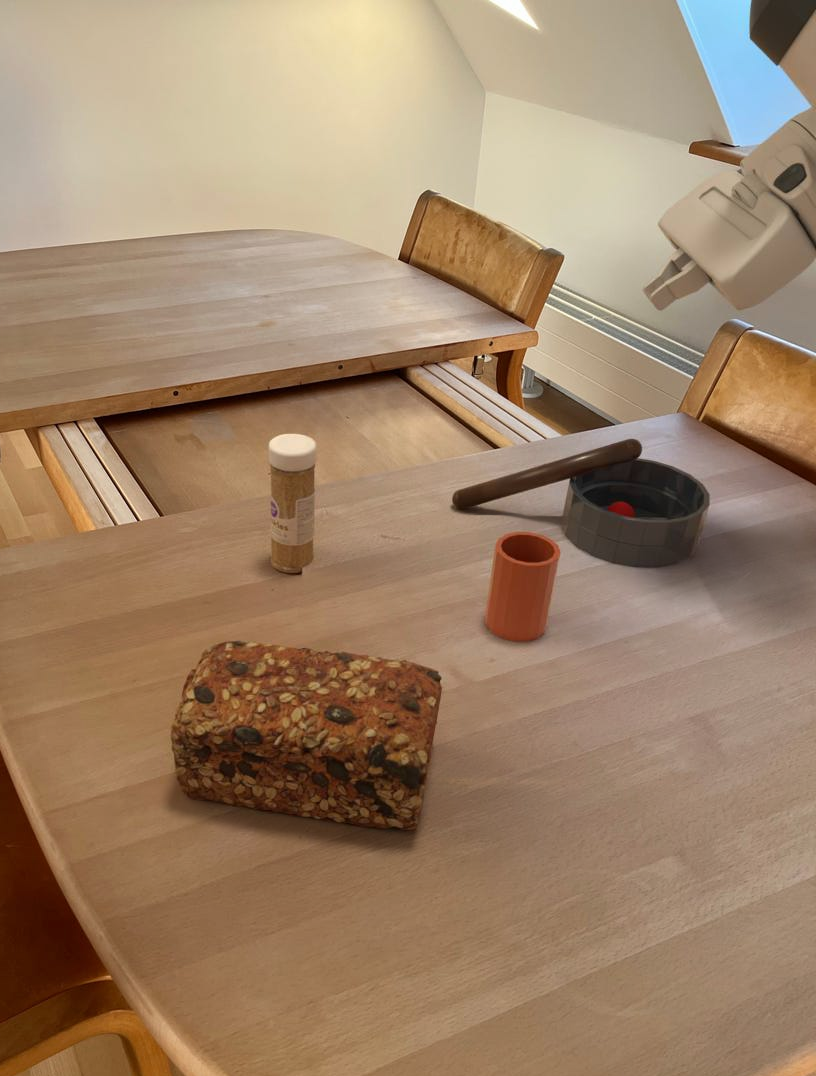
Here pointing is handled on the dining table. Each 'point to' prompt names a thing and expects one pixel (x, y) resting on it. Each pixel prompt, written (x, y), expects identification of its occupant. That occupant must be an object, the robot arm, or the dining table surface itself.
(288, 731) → the bread
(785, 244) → the robot arm
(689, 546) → the bowl
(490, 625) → the crock
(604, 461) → the stirring stick
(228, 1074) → the dining table surface
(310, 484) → the sprinkles bottle
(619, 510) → the berry
